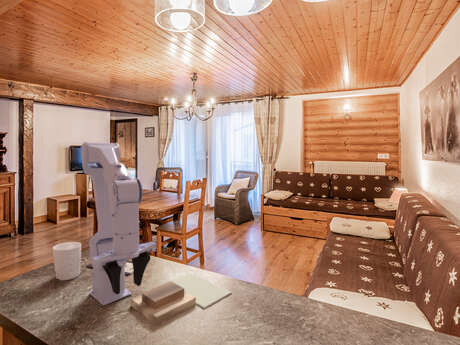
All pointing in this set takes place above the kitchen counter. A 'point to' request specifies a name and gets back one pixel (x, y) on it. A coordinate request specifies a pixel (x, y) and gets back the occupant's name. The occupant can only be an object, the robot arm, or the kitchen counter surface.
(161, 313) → the block
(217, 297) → the sage mat
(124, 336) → the kitchen counter surface
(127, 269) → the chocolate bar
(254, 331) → the kitchen counter surface
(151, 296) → the walnut tile
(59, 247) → the white cup
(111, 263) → the robot arm
